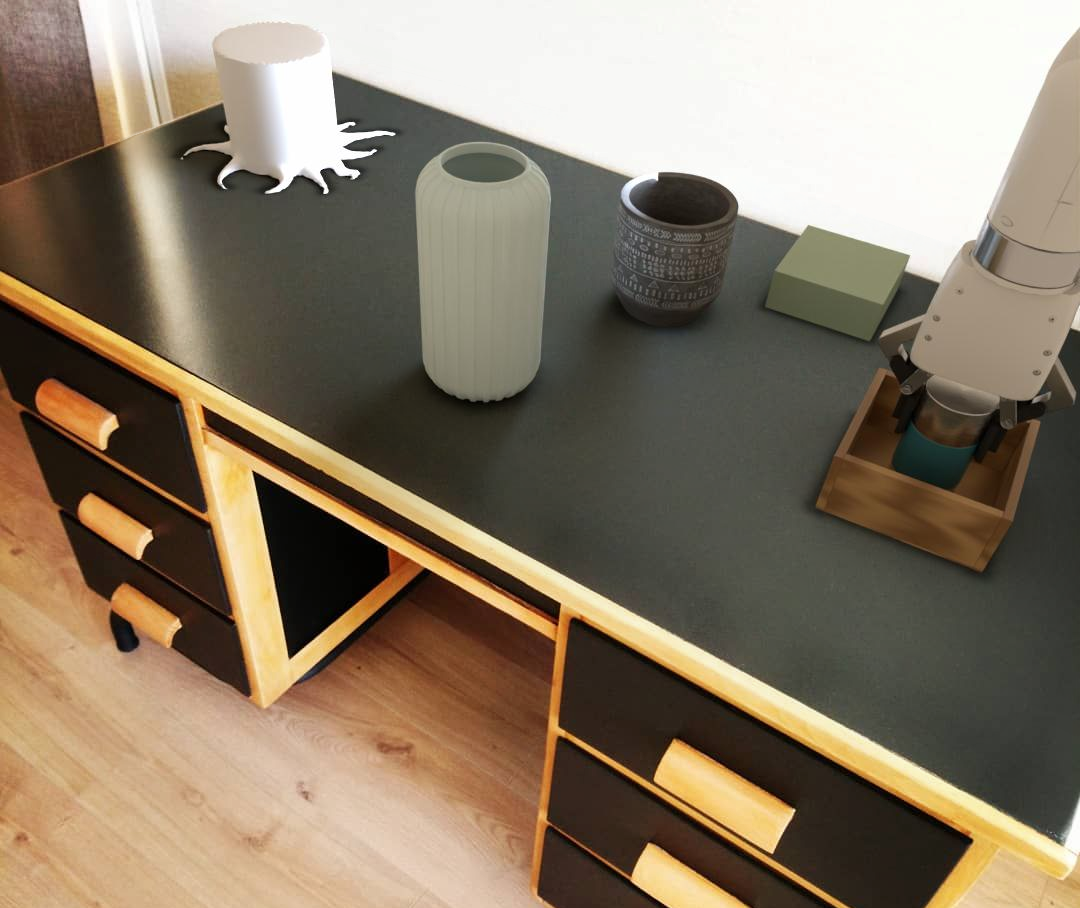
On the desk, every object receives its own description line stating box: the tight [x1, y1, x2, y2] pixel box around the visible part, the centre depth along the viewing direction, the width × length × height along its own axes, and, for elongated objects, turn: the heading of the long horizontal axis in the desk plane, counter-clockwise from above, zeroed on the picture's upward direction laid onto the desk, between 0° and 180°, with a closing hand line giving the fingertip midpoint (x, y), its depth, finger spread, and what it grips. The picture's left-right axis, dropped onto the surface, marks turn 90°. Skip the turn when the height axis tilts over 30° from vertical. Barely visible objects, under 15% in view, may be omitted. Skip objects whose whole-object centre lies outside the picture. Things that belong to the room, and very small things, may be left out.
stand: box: [764, 224, 911, 342], centre depth 105 cm, size 12×12×5 cm
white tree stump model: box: [180, 21, 396, 195], centre depth 120 cm, size 25×25×14 cm
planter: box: [609, 171, 740, 328], centre depth 100 cm, size 12×12×13 cm
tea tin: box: [888, 375, 1000, 493], centre depth 81 cm, size 6×6×11 cm
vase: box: [414, 141, 552, 403], centre depth 86 cm, size 12×12×22 cm
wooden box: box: [814, 367, 1041, 573], centre depth 83 cm, size 15×15×7 cm
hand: (940, 437), depth 81 cm, fingers closed on tea tin, 6 cm apart
